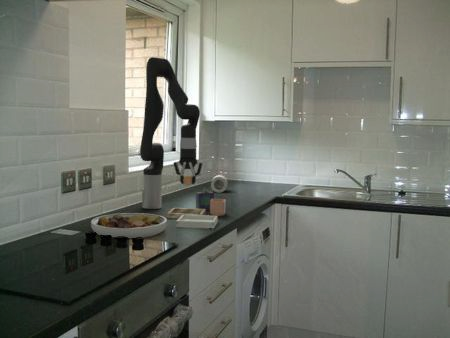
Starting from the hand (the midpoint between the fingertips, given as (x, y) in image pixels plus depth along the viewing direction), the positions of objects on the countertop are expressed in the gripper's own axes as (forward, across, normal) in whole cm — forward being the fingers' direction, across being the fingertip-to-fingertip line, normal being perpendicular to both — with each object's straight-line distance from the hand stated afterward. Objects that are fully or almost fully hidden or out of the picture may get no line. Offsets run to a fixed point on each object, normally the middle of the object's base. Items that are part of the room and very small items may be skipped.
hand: (188, 183), depth 231 cm
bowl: (+16, -18, -35) cm, 42 cm away
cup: (+15, +13, +7) cm, 22 cm away
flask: (+16, +6, +18) cm, 25 cm away
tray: (+16, +7, -17) cm, 24 cm away
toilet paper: (+16, +6, +82) cm, 84 cm away
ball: (-2, 0, 0) cm, 2 cm away
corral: (+15, -1, +1) cm, 15 cm away
